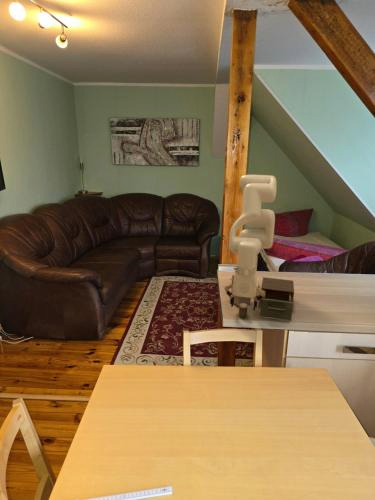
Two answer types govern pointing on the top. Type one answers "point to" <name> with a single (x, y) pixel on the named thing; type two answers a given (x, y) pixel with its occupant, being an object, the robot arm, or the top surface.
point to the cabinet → (278, 286)
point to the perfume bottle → (238, 299)
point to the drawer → (276, 305)
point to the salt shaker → (243, 310)
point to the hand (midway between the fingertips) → (243, 307)
